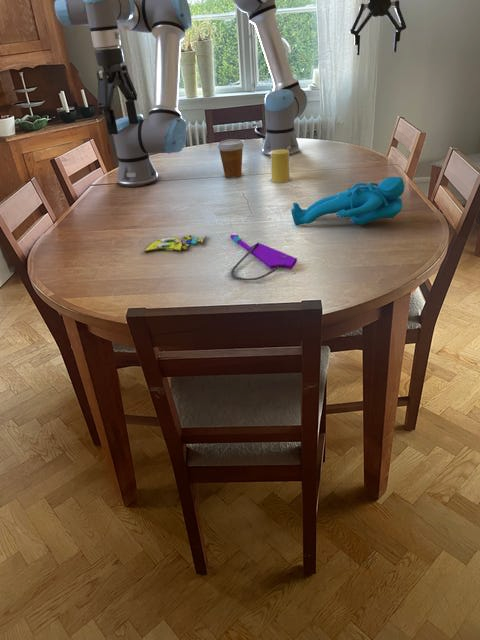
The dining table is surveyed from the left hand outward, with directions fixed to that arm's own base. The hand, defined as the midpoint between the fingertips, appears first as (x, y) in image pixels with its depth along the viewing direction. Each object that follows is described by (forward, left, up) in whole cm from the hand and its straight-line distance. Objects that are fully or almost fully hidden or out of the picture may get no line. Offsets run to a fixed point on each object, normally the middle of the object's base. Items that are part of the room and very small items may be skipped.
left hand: (124, 128), depth 145 cm
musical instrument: (+57, +12, -25) cm, 63 cm away
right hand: (-11, +103, +9) cm, 104 cm away
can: (+4, +51, -25) cm, 57 cm away
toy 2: (+51, +45, -25) cm, 72 cm away
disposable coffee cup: (-12, +40, -25) cm, 49 cm away
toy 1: (+36, 0, -25) cm, 44 cm away
